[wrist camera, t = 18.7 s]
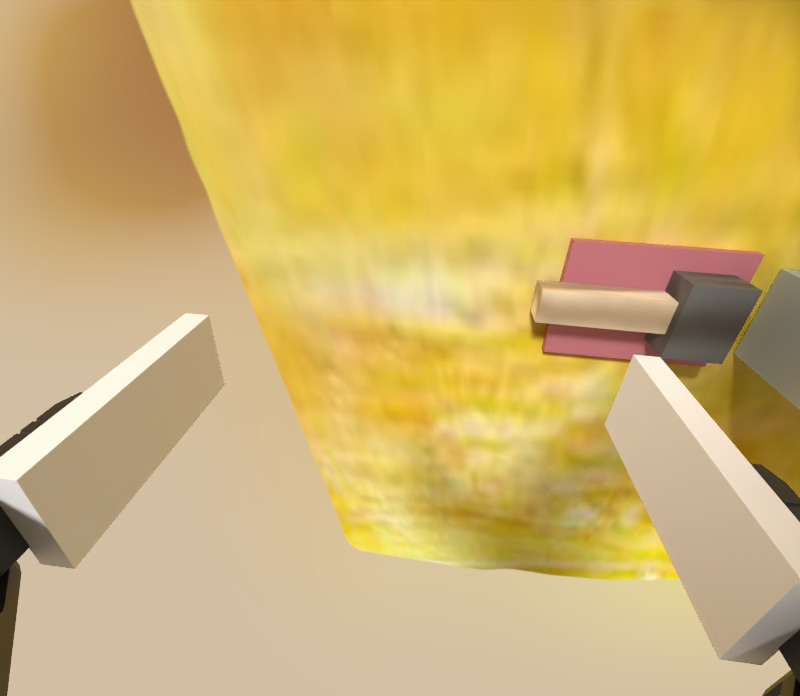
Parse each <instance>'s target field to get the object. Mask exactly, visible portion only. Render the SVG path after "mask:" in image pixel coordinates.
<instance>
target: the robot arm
mask: <svg viewBox="0 0 800 696" xmlns="http://www.w3.org/2000/svg"><path fill="white" fill-rule="evenodd" d="M223 386H224V381H223V376H222V372H221V367H220V363H219V359H218V354H217V350H216V345H215V341H214V336H213V332H212V328H211V323H210V319H209V316H208V315H200V314H189V313H186V314H184V315H183V316H182V317H180V318H179V319H178V320H177V321H175V322H174V323H173V324H171V325H170V326H169V327H167V328H166V329H165V330H164V331H162V332H161V333H160V334H158V335H157V336H156V337H154V338H153V339H152V340H151V341H149V342H148V343H147V344H145V345H144V346H143V347H142V348H140V349H139V350H138V351H136V352H135V353H134V354H133V355H131V356H130V357H129V358H127V359H126V360H125V361H124V362H122V363H121V364H120V365H118V366H117V367H116V368H114V369H113V370H112V371H111V372H109V373H108V374H107V375H105V376H104V377H103V378H102V379H100V380H99V381H98V382H97V383H95V384H94V385H93V386H92V387H90V388H89V389H87V390H86V391H85V392H84V393H82V392H80V393H78V394H76V395H74V396H71V397H69V398H67V399H65V400H63V401H61V402H59V403H57V404H55V405H54V406H53V407H51V408H50V409H49V410H47V411H46V412H45V413H43V414H42V415H41V416H39V417H38V418H37V421H36V422H31V423H30V424H29V425H28V426H26V427H25V428H23V429H22V430H21V432H20V434H16V435H14V436H13V437H12V438H10V439H9V440H7V441H6V442H5V443H3V444H2V445H1V446H0V696H7V691H8V682H9V673H10V665H11V656H12V648H13V639H14V631H15V622H16V613H17V605H18V596H19V588H20V579H21V570H20V565H19V564H18V562H17V559H18V558H19V557H20V556H21V555H22V554H23V553H24V552H25V551H26V550H27V549H28V548H30V550H31V551H32V552H33V554H34V555H35V556H36V558H37V559H38V560H39V562H40V563H41V564H44V565H51V566H59V567H66V568H74V569H75V568H76V566H77V565H78V564H79V563H80V562H81V560H82V559H83V558H84V557H85V555H86V554H87V553H88V551H90V549H91V548H92V547H93V545H94V544H95V543H96V542H97V541H98V539H99V538H100V537H101V536H102V534H103V533H104V532H105V531H106V530H107V528H108V527H109V526H110V525H111V524H112V522H113V521H114V520H115V519H116V517H117V516H118V515H119V514H120V512H121V511H122V510H123V509H124V508H125V506H126V505H127V504H128V503H129V501H130V500H131V499H132V498H133V496H134V495H135V494H136V493H137V491H138V490H139V489H140V488H141V487H142V485H143V484H144V483H145V482H146V481H147V479H148V478H149V477H150V475H151V474H152V473H153V472H154V471H155V469H156V468H157V467H158V466H159V465H160V463H161V462H162V461H163V460H164V459H165V457H166V456H167V455H168V453H169V452H170V451H171V450H172V448H173V447H174V446H175V445H176V444H177V443H178V441H179V440H180V439H181V438H182V436H183V435H184V434H185V433H186V432H187V430H188V429H189V428H190V427H191V425H192V424H193V423H194V422H195V420H196V419H197V418H198V417H199V415H200V414H201V413H202V412H203V411H204V409H205V408H206V407H207V406H208V405H209V403H210V402H211V400H213V398H214V397H215V396H216V395H217V393H218V392H219V391H220V390H221V389H222V387H223ZM605 427H606V429H607V431H608V433H609V435H610V437H611V439H612V441H613V443H614V445H615V447H616V449H617V451H618V453H619V455H620V457H621V460H622V462H623V464H624V466H625V468H626V470H627V472H628V474H629V476H630V478H631V480H632V482H633V484H634V486H635V488H636V490H637V492H638V494H639V496H640V498H641V500H642V502H643V505H644V507H645V509H646V511H647V513H648V515H649V517H650V519H651V521H652V523H653V525H654V527H655V529H656V531H657V533H658V535H659V537H660V539H661V541H662V543H663V545H664V547H665V550H666V552H667V554H668V556H669V558H670V560H671V562H672V564H673V566H674V568H675V570H676V572H677V574H678V576H679V578H680V580H681V582H682V584H683V586H684V588H685V590H686V592H687V594H688V597H689V599H690V601H691V603H692V605H693V607H694V609H695V611H696V613H697V615H698V617H699V619H700V621H701V623H702V625H703V627H704V629H705V631H706V633H707V635H708V637H709V640H710V641H711V644H712V646H713V648H714V650H715V652H716V654H717V656H718V658H719V659H722V660H728V661H735V662H743V663H750V664H757V665H762V664H763V663H764V662H766V661H767V660H768V659H769V658H770V657H771V656H773V655H774V654H775V653H776V652H777V651H778V650H780V652H781V653H782V655H783V657H784V658H785V660H786V662H787V663H788V665H789V666H790V668H791V671H789V672H788V673H787V674H786V675H784V676H783V677H782V678H780V679H779V680H778V681H777V682H775V683H774V684H773V685H772V686H770V687H769V688H768V689H766V691H765V692H764V694H763V696H800V498H799V497H798V496H797V495H796V494H795V492H794V491H793V490H792V489H791V488H790V487H789V486H788V485H787V484H786V483H785V482H784V481H782V480H781V479H780V478H778V477H777V476H776V475H774V474H773V473H772V472H770V471H769V470H768V469H766V468H765V467H763V466H762V465H759V464H750V463H749V462H748V460H747V459H746V458H745V457H744V456H743V455H742V453H741V452H740V451H739V450H738V449H737V447H736V446H735V445H734V444H733V443H732V442H731V440H730V439H729V438H728V437H727V436H726V434H725V433H724V432H723V431H722V430H721V429H720V427H719V426H718V425H717V424H716V423H715V421H714V420H713V419H712V418H711V417H710V416H709V414H708V413H707V412H706V411H705V410H704V408H703V407H702V406H701V405H700V404H699V403H698V401H697V400H696V399H695V398H694V397H693V395H692V394H691V393H690V392H689V391H688V390H687V388H686V387H685V386H684V385H683V384H682V382H681V381H680V380H679V379H678V378H677V376H676V375H675V374H674V373H673V372H672V371H671V369H670V368H669V367H668V366H667V365H666V363H665V362H664V361H663V360H662V359H661V358H660V357H654V356H643V355H633V357H632V359H631V362H630V364H629V366H628V369H627V371H626V374H625V376H624V378H623V381H622V383H621V386H620V388H619V391H618V393H617V395H616V398H615V400H614V403H613V405H612V408H611V410H610V412H609V415H608V417H607V420H606V422H605Z"/></svg>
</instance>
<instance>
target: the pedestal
mask: <svg viewBox="0 0 800 696" xmlns="http://www.w3.org/2000/svg"><path fill="white" fill-rule="evenodd" d="M734 354H735V355H736V356H737V357H738V358H740V359H741V360H742V361H743V362H744V363H745V364H747V365H748V366H749V367H750V368H751V369H752V370H754V371H755V372H756V373H757V374H758V375H759V376H760V377H762V378H763V379H764V380H765V381H766V382H767V383H769V384H770V385H771V386H772V387H773V388H774V389H776V390H777V391H778V392H779V393H780V394H781V395H782V396H784V397H785V398H786V399H787V400H788V401H789V402H791V403H792V404H793V405H794V406H795V407H796V408H798V409H799V410H800V270H789V269H781V270H780V272H779V274H778V276H777V278H776V279H775V281H774V283H773V285H772V286H771V288H770V290H769V292H768V293H767V295H766V297H765V299H764V301H763V302H762V304H761V306H760V308H759V309H758V311H757V313H756V315H755V316H754V318H753V320H752V322H751V324H750V325H749V327H748V329H747V331H746V332H745V334H744V336H743V338H742V339H741V341H740V343H739V345H738V347H737V348H736V350H735V352H734Z"/></svg>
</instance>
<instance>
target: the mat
mask: <svg viewBox="0 0 800 696" xmlns="http://www.w3.org/2000/svg"><path fill="white" fill-rule="evenodd" d="M763 257H764V255H763V254H761V253H759V252H752V251H738V250H725V249H711V248H698V247H684V246H671V245H657V244H644V243H630V242H617V241H603V240H590V239H576V238H571V241H570V245H569V249H568V253H567V256H566V260H565V264H564V267H563V271H562V275H561V279H560V282H566V283H577V284H589V285H601V286H612V287H624V288H636V289H647V290H659V291H665V289H666V287H667V285H668V282H669V280H670V278H671V275H672V273H673V270H676V271H688V272H700V273H713V274H725V275H736V276H738V277H739V278H741V279H743V280H745V281H746V282H748V283H750V281H751V279H752V277H753V275H754V274H755V272H756V270H757V268H758V266H759V264H760V262H761V260H762V258H763ZM646 334H647V333H645V332H634V331H623V330H613V329H602V328H591V327H580V326H569V325H559V324H548V327H547V331H546V334H545V338H544V342H543V345H542V348H543V351H544V352H554V353H564V354H575V355H586V356H596V357H607V358H618V359H629V360H631V359H632V357H633V355H643V356H654V357H659V356H658V354H657V353H656V352H655V351H654V350H653V349H652V347H651V346H650V345H649V344H648V343H647V341H646V340H645V336H646ZM661 359H662V360H663V361H664V362H665V363H671V364H682V365H693V366H704V367H705V366H706V364H707V363H706V362H696V361H685V360H675V359H665V358H661Z"/></svg>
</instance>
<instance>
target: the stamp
mask: <svg viewBox="0 0 800 696" xmlns="http://www.w3.org/2000/svg"><path fill="white" fill-rule="evenodd" d="M761 293H762V290H760V289H758V288H757V287H755V286H753V285H751V284H750V283H748V282H746V281H745V280H743V279H741V278H739V277H738V276H736V275H725V274H713V273H700V272H688V271H676V270H673V273H672V275H671V278H670V280H669V282H668V285H667V287H666V289H665V291H659V290H647V289H636V288H624V287H612V286H601V285H589V284H577V283H566V282H554V281H542V280H537V285H536V289H535V293H534V297H533V301H532V305H531V309H530V310H531V313H532V315H533V318H534V320H535V322H537V323H548V324H559V325H569V326H580V327H591V328H602V329H613V330H623V331H634V332H645V333H647V334H646V336H645V340H646V341H647V343H648V344H649V345H650V346H651V347H652V349H653V350H654V351H655V352H656V353H657V354H658V356H659V357H660V358H665V359H675V360H685V361H696V362H706V363H717V364H722V363H723V361H724V359H725V357H726V355H727V354H728V352H729V350H730V348H731V347H732V345H733V343H734V341H735V339H736V338H737V336H738V334H739V332H740V330H741V329H742V327H743V325H744V323H745V322H746V320H747V318H748V316H749V314H750V313H751V311H752V309H753V307H754V306H755V304H756V302H757V300H758V298H759V297H760V295H761Z"/></svg>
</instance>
